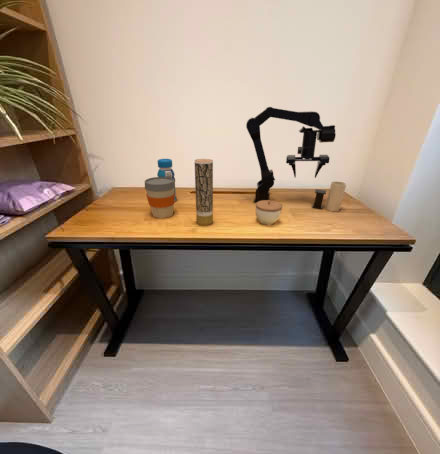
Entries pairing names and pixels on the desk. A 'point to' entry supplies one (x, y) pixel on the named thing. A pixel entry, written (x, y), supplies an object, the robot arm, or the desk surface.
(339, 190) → the pen pot
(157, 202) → the reusable coffee cup
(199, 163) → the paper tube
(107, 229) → the desk surface
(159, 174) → the beverage bottle
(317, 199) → the leg piece
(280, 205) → the trinket box
